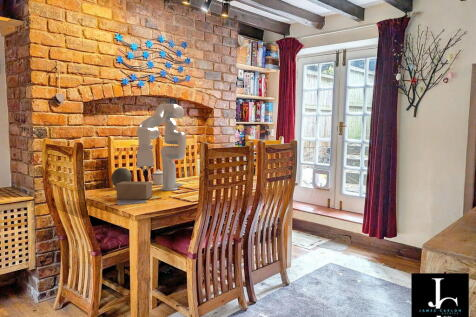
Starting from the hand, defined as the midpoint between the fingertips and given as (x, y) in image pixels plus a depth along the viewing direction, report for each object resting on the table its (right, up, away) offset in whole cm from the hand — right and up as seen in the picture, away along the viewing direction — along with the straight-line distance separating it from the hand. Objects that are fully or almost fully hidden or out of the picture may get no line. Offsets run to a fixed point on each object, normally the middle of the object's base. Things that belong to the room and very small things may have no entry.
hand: (145, 176), depth 223 cm
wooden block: (+1, -9, +6) cm, 11 cm away
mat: (-8, -15, -2) cm, 18 cm away
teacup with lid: (-7, -9, +59) cm, 60 cm away
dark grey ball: (-29, -11, +43) cm, 52 cm away
